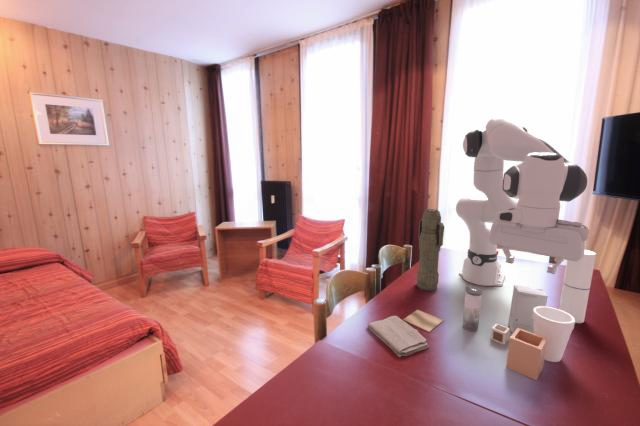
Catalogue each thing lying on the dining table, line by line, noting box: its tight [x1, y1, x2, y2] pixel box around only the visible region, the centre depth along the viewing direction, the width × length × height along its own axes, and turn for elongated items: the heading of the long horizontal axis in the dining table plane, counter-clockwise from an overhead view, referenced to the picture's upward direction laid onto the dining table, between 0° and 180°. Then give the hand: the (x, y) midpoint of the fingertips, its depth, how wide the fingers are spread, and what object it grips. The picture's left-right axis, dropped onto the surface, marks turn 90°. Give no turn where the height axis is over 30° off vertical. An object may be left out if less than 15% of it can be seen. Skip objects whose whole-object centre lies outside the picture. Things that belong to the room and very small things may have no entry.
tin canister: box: [462, 285, 483, 332], centre depth 99 cm, size 5×5×14 cm
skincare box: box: [507, 284, 549, 334], centre depth 97 cm, size 8×6×15 cm
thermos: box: [416, 208, 445, 292], centre depth 129 cm, size 9×12×35 cm
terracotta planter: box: [505, 328, 548, 381], centre depth 81 cm, size 7×7×9 cm
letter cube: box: [489, 322, 511, 346], centre depth 94 cm, size 4×4×4 cm
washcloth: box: [367, 315, 430, 358], centre depth 95 cm, size 12×18×3 cm, turn 25°
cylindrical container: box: [558, 249, 597, 324], centre depth 104 cm, size 7×7×25 cm
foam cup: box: [533, 305, 576, 363], centre depth 85 cm, size 10×9×13 cm
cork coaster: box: [402, 309, 444, 333], centre depth 105 cm, size 10×10×1 cm
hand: (529, 267), depth 78 cm, fingers open, 8 cm apart
